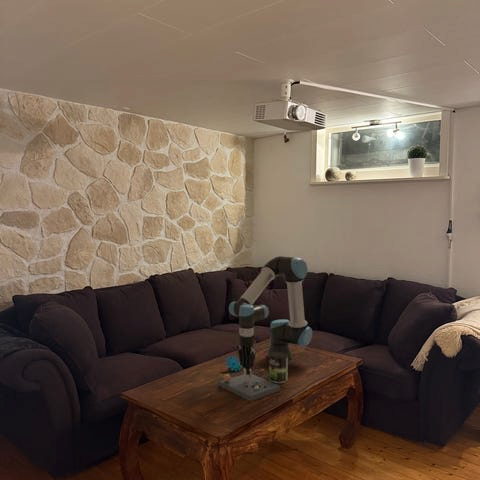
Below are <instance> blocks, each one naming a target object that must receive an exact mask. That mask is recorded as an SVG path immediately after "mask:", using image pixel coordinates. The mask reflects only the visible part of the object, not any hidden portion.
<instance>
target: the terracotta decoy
mask: <svg viewBox="0 0 480 480" xmlns="http://www.w3.org/2000/svg"><path fill="white" fill-rule="evenodd" d="M231 378H232V376H231V375H230V374H228V373H226V374H224V376H223V379H222V381H223V380H224V381H225V382H229V381H230V380H231Z"/></svg>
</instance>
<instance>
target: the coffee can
mask: <svg viewBox="0 0 480 480" xmlns="http://www.w3.org/2000/svg"><path fill="white" fill-rule="evenodd" d="M268 360H269V361H268V363H269V364H268V381H269V382H272V383H274V384H284V383H287V382H288V380H289V379H288V373H289V372H288V371H289V370H288V366H289V365H288V364H289V360H288V354H287V353H285V352H281V351H275V352H271V353H269V358H268Z"/></svg>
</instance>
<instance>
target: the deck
mask: <svg viewBox="0 0 480 480" xmlns="http://www.w3.org/2000/svg"><path fill="white" fill-rule="evenodd" d="M254 386H259V387H260V388H254ZM219 387H220V388H222V389H225V390H226V391H228V392H230V393H232V394H233V395H237V396H239V397H241V398H243V399H244V400H246V401H248V402H252V401H255V400H258V399H260V398H263V397H267V396H269V395H272V394H275V393H277V392H280V391H281V386H280V385H278V384H277V383H274V382H271V381H269V380H267V379H265V378H263V377H260V376H258V375H255V374H253V373H252V374H251V375H249V380H247V381H245V380H244V373H243V374H240V375H236V376H232V377H231V380H230V381H229V382H225V381H224V380H223V379H222V380H221V381H219Z"/></svg>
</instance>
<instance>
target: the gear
mask: <svg viewBox="0 0 480 480" xmlns="http://www.w3.org/2000/svg"><path fill="white" fill-rule="evenodd" d="M225 366H227V369H230V371H231V372H233V371H234V372H235V373H237V371H240V370H241V368H243V367H242V365H240V360H239V358H237V356H235V355H230V356H227V358H226V359H225Z"/></svg>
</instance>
